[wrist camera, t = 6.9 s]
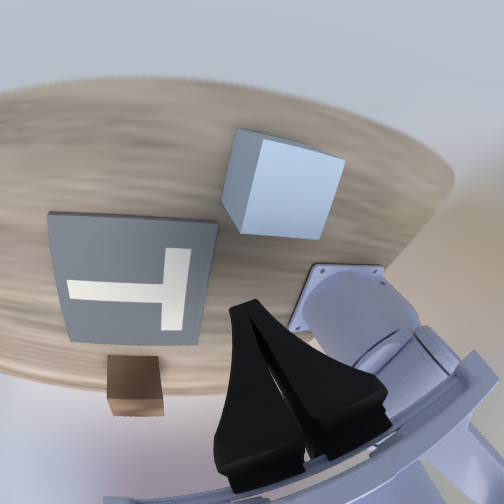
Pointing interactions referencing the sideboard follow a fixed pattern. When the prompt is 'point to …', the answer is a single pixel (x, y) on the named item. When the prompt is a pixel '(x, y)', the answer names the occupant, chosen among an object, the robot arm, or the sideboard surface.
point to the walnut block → (134, 386)
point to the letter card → (131, 276)
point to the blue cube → (279, 186)
